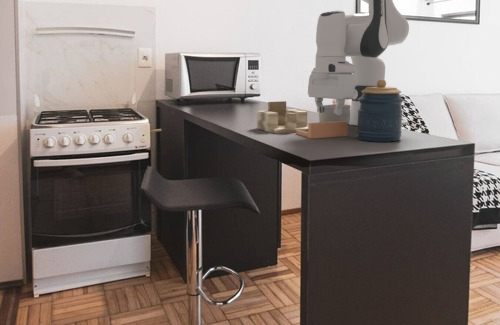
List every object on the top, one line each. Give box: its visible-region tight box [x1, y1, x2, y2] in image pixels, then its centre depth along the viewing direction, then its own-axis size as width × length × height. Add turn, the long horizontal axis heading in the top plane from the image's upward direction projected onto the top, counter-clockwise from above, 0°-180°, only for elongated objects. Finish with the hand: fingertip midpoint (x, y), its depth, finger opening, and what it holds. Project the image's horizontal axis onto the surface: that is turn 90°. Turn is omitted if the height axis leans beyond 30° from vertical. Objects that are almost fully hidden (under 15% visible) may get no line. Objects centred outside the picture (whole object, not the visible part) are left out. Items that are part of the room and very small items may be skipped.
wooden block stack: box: [256, 100, 308, 134], centre depth 165 cm, size 14×15×9 cm
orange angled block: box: [295, 121, 349, 139], centre depth 154 cm, size 10×13×4 cm
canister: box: [356, 79, 404, 143], centre depth 144 cm, size 13×13×18 cm
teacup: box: [318, 103, 351, 125], centre depth 170 cm, size 14×11×8 cm
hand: (328, 113), depth 148 cm, fingers open, 8 cm apart
